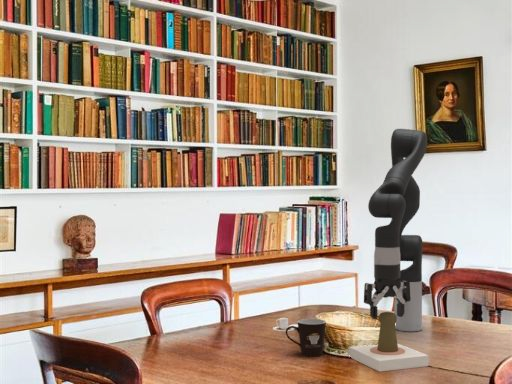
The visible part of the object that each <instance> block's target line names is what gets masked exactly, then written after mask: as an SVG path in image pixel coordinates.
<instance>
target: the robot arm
mask: <svg viewBox="0 0 512 384" xmlns="http://www.w3.org/2000/svg"><path fill="white" fill-rule="evenodd" d="M427 146H428V136H427V133H426V132H425V131H423V130H419V129H407V128H395V129H394V130H393V132H392V134H391V137H390V153H391V154H390V156H391V168H389V170H388V171H387V173H386V175H385V177H384V179H383V182H382V184H381V185H380V186H378V188H377V189H376V190H375V191H374V192H373V193H372V195H371V196H370V198H369V200H368V205H367V207H368V212H369V214H370V215H371V216H372V217H373V218H376V219H379V218H380V219H391V220H390V223H388V224H386V225H380V226H378V227H376V228H375V231H374V254H373V255H374V256H373V257H374V258H373V262H374V263H373V270H374V271H373V274H374V276H373V278H374V283H370V282H369V283H368V282H365V283H364V285H363V287H364V289H363V303H364V304H367V305H369V309H370V310H369V314H370V317H371V319H373V320H378V306H377V305H378V304H379V303H380V302H381V300H383V298H389V297H390V298H394V299H395V300H394V303H393V307H394V309H393V311H394V312H393V313H394V314H395V315H396V317H397V321H396V326H395V329H396V331H402V332H420V331H422V330H423V280H422V279H423V277H422V276H423V273H422V272H423V271H422V270H423V269H422V268H423V267H422V266H423V246H424V245H423V238H422V237H421V235H419V234H403V232H404V229H405V228H406V226H407V225H408V224H409V223H410V221H411V220H412V219H413V218H414V217H415V216H416V214H417V213H418V211H419V209H420V203H421V202H420V201H421V199H420V198H421V191H420V186H419V184H418V183H417V181H416V180H415V178H414V177H413V174H414V172H415V171H416V169H417V168H418V167H419V165H420V163H422V162H421V161H422V160H423V159H424V157H425V155H426V151H427ZM401 262H412V264H411V265H410V266H408V267H406V268H403V269H401ZM374 290H375V291H374ZM373 291H374V293H373Z"/></svg>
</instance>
